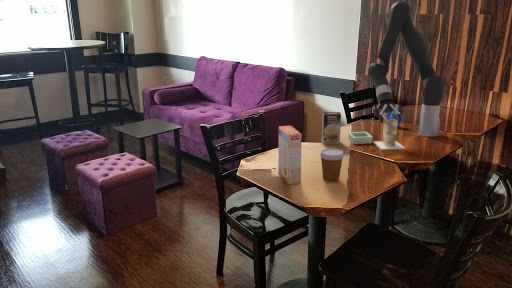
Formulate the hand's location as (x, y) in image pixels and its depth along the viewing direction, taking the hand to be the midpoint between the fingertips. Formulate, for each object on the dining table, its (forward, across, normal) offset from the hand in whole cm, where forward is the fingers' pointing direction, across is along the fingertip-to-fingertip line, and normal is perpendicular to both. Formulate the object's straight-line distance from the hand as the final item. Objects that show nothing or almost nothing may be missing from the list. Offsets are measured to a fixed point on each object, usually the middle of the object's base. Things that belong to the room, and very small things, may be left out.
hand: (390, 122), depth 197 cm
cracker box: (+36, -56, -18) cm, 69 cm away
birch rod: (+8, 0, +8) cm, 12 cm away
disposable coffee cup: (+38, -39, -20) cm, 58 cm away
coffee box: (+2, -28, +15) cm, 32 cm away
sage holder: (+2, -12, +16) cm, 20 cm away
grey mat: (+9, 0, +9) cm, 12 cm away
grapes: (-17, +16, +35) cm, 42 cm away
